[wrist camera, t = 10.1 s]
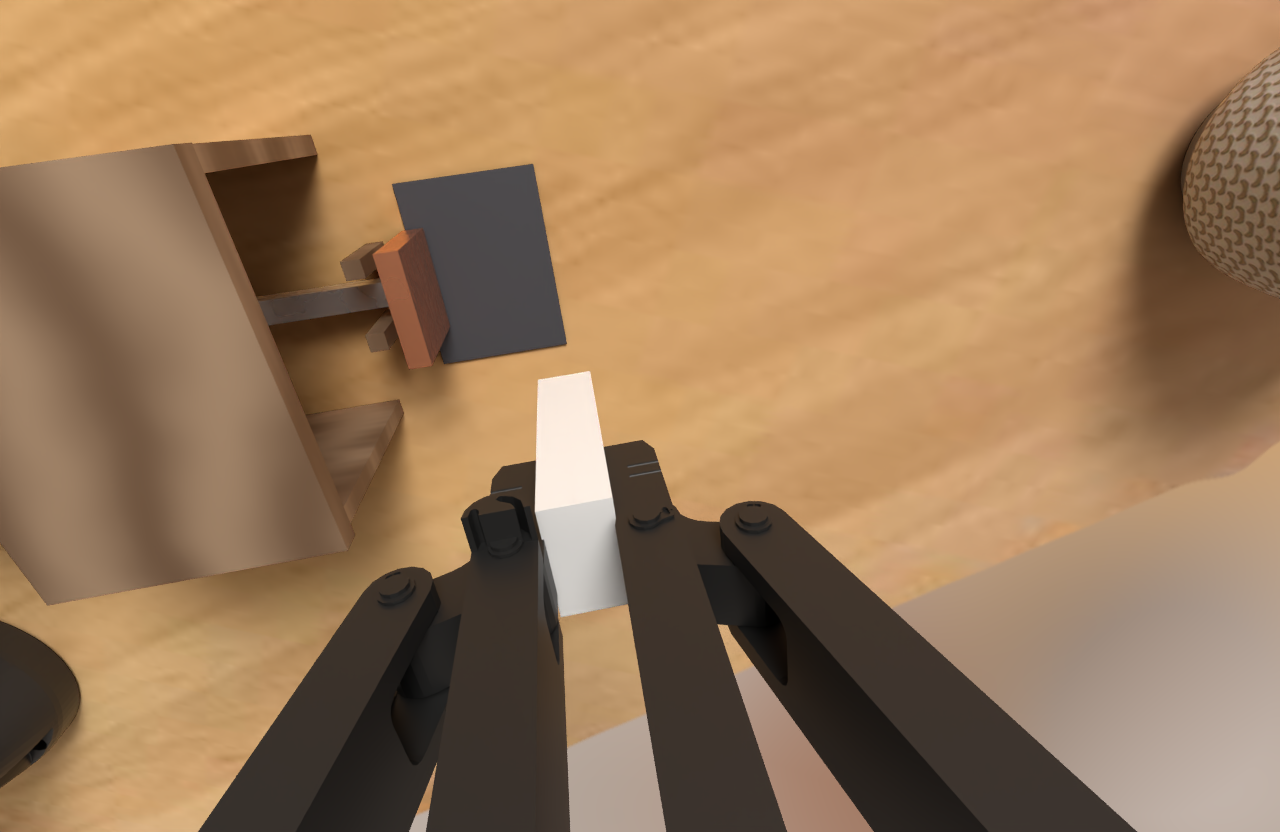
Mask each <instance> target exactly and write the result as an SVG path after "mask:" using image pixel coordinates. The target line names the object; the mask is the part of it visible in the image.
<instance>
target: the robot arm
mask: <svg viewBox="0 0 1280 832" xmlns="http://www.w3.org/2000/svg"><path fill="white" fill-rule="evenodd" d="M461 521H462V524H463V527H464V530H465V533H466V537H467V540H468V543H469V546H470V549H471V552H472V553H471V559H470V561H469V562H468V563H466V564H465V565H463V566H462V567H460V568H458V569H456V570H454V571H452V572H450V573H447V574H445V575H442V576H440V577H437V578H435V579H432V576H431V573H430V572H428V571H427V570H425V569H423V568H417V567H407V568H401V569H397V570H395V571H392V572H390V573H387V574H385V575H383V576H382V577H380V578H379V579H377V580H375V581H374V582H372V584H371V585H370V586H369V587H368V588H367V589H366V590H365V591H364V592H363V594H362V595H361V596H360V598H359V599H358V601H357V602H356V604H355V605H354V607H353V608H352V609H351V611H350V612H349V614H348V615H347V617H346V618H345V620H344V621H343V623H342V624H341V625H340V627H339V628H338V630H337V631H336V633H335V634H334V636H333V637H332V638H331V640H330V641H329V643H328V644H327V646H326V647H325V649H324V650H323V652H322V653H321V654H320V656H319V657H318V659H317V660H316V662H315V663H314V665H313V666H312V667H311V669H310V670H309V672H308V673H307V675H306V676H305V678H304V679H303V681H302V682H301V683H300V685H299V686H298V688H297V689H296V691H295V692H294V694H293V695H292V696H291V698H290V699H289V701H288V702H287V704H286V705H285V707H284V708H283V710H282V711H281V712H280V714H279V715H278V717H277V718H276V720H275V721H274V723H273V724H272V725H271V727H270V728H269V730H268V731H267V733H266V734H265V736H264V737H263V739H262V740H261V741H260V743H259V744H258V746H257V747H256V749H255V750H254V752H253V753H252V754H251V756H250V757H249V759H248V760H247V762H246V763H245V765H244V766H243V768H242V769H241V770H240V772H239V773H238V775H237V776H236V778H235V779H234V781H233V782H232V783H231V785H230V786H229V788H228V789H227V791H226V792H225V794H224V795H223V797H222V798H221V799H220V801H219V802H218V804H217V805H216V807H215V808H214V810H213V811H212V812H211V814H210V815H209V817H208V818H207V820H206V821H205V823H204V824H203V826H202V827H201V828H200V830H199V831H198V832H409V830H410V827H411V825H412V823H413V820H414V818H415V815H416V813H417V810H418V808H419V805H420V803H421V800H422V798H423V795H424V793H425V790H426V788H427V785H428V783H429V780H430V778H431V775H432V773H433V771H434V768H435V766H436V763H437V767H436V773H435V779H434V785H433V792H432V798H431V804H430V810H429V816H428V822H427V828H426V832H570V817H569V816H570V815H569V789H568V763H567V738H566V712H565V686H564V660H563V636H562V632H561V628H560V624H559V620H558V607H559V611H560V615H561V617H564V616H570V615H575V614H580V613H585V612H590V611H595V610H600V609H605V608H610V607H615V606H620V605H625V604H628V606H629V612H630V618H631V624H632V630H633V636H634V642H635V647H636V653H637V659H638V665H639V671H640V677H641V683H642V689H643V695H644V701H645V707H646V713H647V719H648V725H649V731H650V736H651V742H652V749H653V754H654V761H655V766H656V772H657V778H658V784H659V790H660V796H661V802H662V808H663V814H664V819H665V825H666V832H787V830H786V827H785V824H784V821H783V818H782V815H781V812H780V809H779V806H778V803H777V800H776V797H775V794H774V791H773V789H772V786H771V783H770V780H769V777H768V774H767V771H766V768H765V765H764V762H763V759H762V756H761V753H760V750H759V747H758V744H757V741H756V738H755V735H754V732H753V729H752V726H751V723H750V720H749V717H748V714H747V711H746V708H745V705H744V703H743V699H742V696H741V693H740V691H739V688H738V685H737V682H736V679H735V676H734V673H733V670H732V667H731V664H730V661H729V658H728V655H727V652H726V649H725V646H724V643H723V640H722V637H721V634H720V631H719V628H718V625H717V624H722V625H728V627H729V629H730V632H731V634H732V635H733V637H734V638H735V639H736V641H737V642H738V644H739V645H740V646H741V648H742V649H743V651H744V652H745V653H746V655H747V656H748V658H749V659H750V660H751V662H752V663H753V664H754V666H755V667H756V669H757V670H758V671H759V673H760V674H761V676H762V677H763V678H764V680H765V681H766V683H767V684H768V685H769V687H770V688H771V689H772V691H773V692H774V693H775V695H776V696H777V698H778V699H779V701H780V702H781V703H782V705H783V706H784V707H785V709H786V710H787V712H788V713H789V714H790V716H791V717H792V719H793V720H794V721H795V723H796V724H797V725H798V727H799V728H800V730H801V731H802V732H803V734H804V735H805V737H806V738H807V739H808V741H809V742H810V743H811V745H812V746H813V748H814V749H815V751H816V752H817V753H818V755H819V756H820V757H821V759H822V760H823V762H824V763H825V764H826V766H827V767H828V769H829V770H830V771H831V773H832V774H833V775H834V777H835V778H836V780H837V781H838V782H839V784H840V785H841V787H842V788H843V789H844V791H845V792H846V793H847V795H848V796H849V798H850V799H851V800H852V802H853V803H854V804H855V806H856V807H857V809H858V810H859V812H860V813H861V814H862V816H863V817H864V819H865V820H866V821H867V823H868V824H869V826H870V827H871V828H872V830H873V831H874V832H1137V831H1136V830H1135V829H1133V828H1132V827H1131V826H1130V825H1129V824H1128V823H1127V822H1126V821H1125V820H1124V819H1122V818H1121V817H1120V816H1119V815H1118V814H1117V813H1116V812H1114V811H1113V810H1112V809H1111V808H1110V807H1109V806H1108V805H1107V804H1106V803H1105V802H1104V801H1103V800H1101V799H1100V798H1099V797H1098V796H1097V795H1096V794H1095V793H1094V792H1093V791H1091V790H1090V789H1089V788H1088V787H1087V786H1086V785H1085V784H1084V783H1083V782H1082V781H1081V780H1079V779H1078V778H1077V777H1076V776H1075V775H1074V774H1073V773H1072V772H1071V771H1070V770H1068V769H1067V768H1066V767H1065V766H1064V765H1063V764H1062V763H1061V762H1060V761H1059V760H1057V759H1056V758H1055V757H1054V756H1053V755H1052V754H1051V753H1050V752H1048V751H1047V750H1046V749H1045V748H1044V747H1043V746H1042V745H1041V744H1040V743H1039V742H1038V741H1037V740H1035V739H1034V738H1033V737H1032V736H1031V735H1030V734H1029V733H1028V732H1027V731H1026V730H1024V729H1023V728H1022V727H1021V726H1020V725H1019V724H1018V723H1017V722H1016V721H1015V720H1013V719H1012V718H1011V717H1010V716H1009V715H1008V714H1007V713H1006V712H1005V711H1003V710H1002V709H1001V708H1000V707H999V706H998V705H997V704H996V703H995V702H994V701H992V700H991V699H990V698H989V697H988V696H987V695H986V694H985V693H984V692H983V691H981V690H980V689H979V688H978V687H977V686H976V685H975V684H974V683H973V682H972V681H970V680H969V679H968V678H967V677H966V676H965V675H964V674H963V673H962V672H960V671H959V670H958V669H957V668H956V667H955V666H954V665H953V664H952V663H951V662H949V661H948V660H947V659H946V658H945V657H944V656H943V655H942V654H941V653H940V652H939V651H937V650H936V649H935V648H934V647H933V646H932V645H931V644H930V643H929V642H927V641H926V640H925V639H924V638H923V637H922V636H921V635H920V634H919V633H917V631H915V630H914V629H913V628H912V627H911V626H910V625H909V624H907V622H905V621H904V620H903V619H902V618H901V617H900V616H899V615H898V614H897V613H896V612H895V611H893V610H892V609H891V608H890V607H889V606H888V605H887V604H886V603H885V602H884V601H882V600H881V599H880V598H879V597H878V596H877V595H876V594H875V593H874V592H873V591H871V590H870V589H869V588H868V587H867V586H866V585H865V584H864V583H863V582H861V581H860V580H859V579H858V578H857V577H856V576H855V575H854V574H853V573H852V572H850V571H849V570H848V569H847V568H846V567H845V566H844V565H843V564H842V563H841V562H839V561H838V560H837V559H836V558H835V557H834V556H833V555H832V554H831V553H830V552H828V551H827V550H826V549H825V548H824V547H823V546H822V545H821V544H820V543H819V542H817V541H816V540H815V539H814V538H813V537H812V536H811V535H810V534H809V533H808V532H806V531H805V530H804V529H803V528H802V527H801V526H800V525H799V524H798V523H797V522H795V521H794V520H793V519H792V518H791V517H790V516H789V515H788V514H787V513H786V512H784V511H783V510H782V509H780V508H778V507H777V506H775V505H773V504H769V503H766V502H761V501H748V502H743V503H738V504H735V505H733V506H732V507H730V508H728V509H726V510H725V512H724V513H723V514H722V515H721V517H720V522H706V521H697V520H693V519H689V518H687V517H685V516H683V515H681V514H680V513H679V511H678V510H677V508H676V507H675V506H673V505H672V502H671V499H670V496H669V493H668V490H667V487H666V484H665V481H664V478H663V475H662V472H661V469H660V466H659V462H658V459H657V456H656V453H655V450H654V448H652V447H651V446H650V445H648V444H647V443H646V442H644V441H643V440H640V441H635V442H629V443H623V444H618V445H612V446H607V447H603V442H602V436H601V431H600V425H599V419H598V414H597V408H596V403H595V397H594V391H593V386H592V380H591V375H590V371H588V372H582V373H576V374H570V375H564V376H558V377H552V378H546V379H541V380H538V404H537V445H536V461H531V462H525V463H520V464H514V465H508V466H503V467H502V468H501V469H500V470H499V471H498V473H497V474H496V475H495V476H494V478H493V479H492V485H491V494H490V496H486V497H484V498H482V499H480V500H478V501H476V502H474V503H473V504H472V505H471V506H469V507H468V508H467V509H466V510H465V511H464V513H463V515H462V517H461ZM78 707H79V691H78V686H77V683H76V681H75V679H74V677H73V675H72V673H71V671H70V670H69V668H68V667H67V666H66V664H65V663H64V662H63V661H62V660H61V659H60V658H59V657H58V656H57V655H56V654H55V653H54V652H53V651H52V650H51V649H49V648H48V647H47V646H46V645H44V644H43V643H41V642H40V641H38V640H37V639H35V638H34V637H32V636H30V635H29V634H27V633H25V632H23V631H21V630H19V629H17V628H15V627H13V626H10V625H8V624H6V623H3V622H0V788H1V787H3V786H4V785H5V784H7V783H8V782H9V781H11V780H12V779H13V778H15V777H16V776H17V775H19V774H20V773H21V772H23V771H24V770H25V769H27V768H28V767H29V766H30V765H32V764H33V763H35V762H36V761H37V760H38V759H40V758H41V757H42V756H43V755H44V754H46V753H47V752H48V751H49V750H50V749H51V747H52V746H53V745H54V744H55V743H56V741H57V740H58V739H59V738H60V736H61V735H62V734H63V733H64V731H65V730H66V729H67V727H68V726H69V725H70V724H71V722H72V721H73V719H74V718H75V716H76V713H77V711H78Z"/></svg>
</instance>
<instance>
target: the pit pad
mask: <svg viewBox="0 0 1280 832" xmlns="http://www.w3.org/2000/svg"><path fill="white" fill-rule="evenodd" d="M392 186H393V189H394V193H395V196H396V199H397V203H398V206H399V210H400V213H401V217H402V220H403V224H404V227H405V230H412V229H418V228H423V230H424V233H425V237H426V240H427V244H428V248H429V251H430V255H431V259H432V262H433V266H434V270H435V273H436V277H437V280H438V284H439V288H440V291H441V295H442V299H443V302H444V306H445V309H446V313H447V317H448V320H449V324H450V328H449V330H448V332H447V334H446V337H445V339H444V341H443V343H442V345H441V347H440V352H441V355H442V359H443V362H444V364H447V363H453V362H459V361H465V360H471V359H477V358H483V357H489V356H495V355H502V354H508V353H514V352H520V351H526V350H532V349H538V348H544V347H550V346H557V345H563V344H567V342H566V337H565V331H564V326H563V321H562V315H561V310H560V305H559V299H558V294H557V289H556V283H555V278H554V273H553V267H552V262H551V257H550V251H549V246H548V241H547V235H546V230H545V225H544V219H543V214H542V209H541V203H540V198H539V193H538V187H537V182H536V177H535V172H534V166H533V164H529V165H522V166H515V167H508V168H501V169H494V170H487V171H480V172H473V173H466V174H459V175H452V176H445V177H438V178H431V179H424V180H417V181H410V182H403V183H396V184H392Z"/></svg>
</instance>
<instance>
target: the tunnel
mask: <svg viewBox="0 0 1280 832" xmlns="http://www.w3.org/2000/svg"><path fill="white" fill-rule="evenodd" d="M313 155H317V152H316V149H315V146H314V143H313V140H312V137H311V135H302V136H289V137H276V138H262V139H249V140H236V141H222V142H209V143H196V144H192V143H183V144H171V145H164V146H156V147H149V148H142V149H134V150H127V151H119V152H112V153H105V154H97V155H90V156H82V157H75V158H68V159H60V160H53V161H45V162H38V163H31V164H23V165H16V166H8V167H1V168H0V543H1V545H2V546H3V547H4V549H5V550H6V551H7V553H8V554H9V555H10V557H11V558H12V559H13V561H14V562H15V563H16V565H17V566H18V567H19V569H20V570H21V571H22V573H23V574H24V575H25V577H26V578H27V579H28V581H29V582H30V583H31V585H32V586H33V587H34V589H35V590H36V591H37V592H38V594H39V595H40V596H41V598H42V599H43V600H44V602H45V603H46V604H47V605H53V604H58V603H64V602H69V601H75V600H80V599H86V598H91V597H97V596H102V595H108V594H113V593H119V592H124V591H130V590H135V589H141V588H146V587H151V586H157V585H162V584H168V583H173V582H179V581H184V580H190V579H195V578H201V577H206V576H212V575H217V574H223V573H228V572H234V571H239V570H245V569H250V568H256V567H261V566H266V565H272V564H277V563H283V562H288V561H294V560H299V559H305V558H310V557H316V556H321V555H327V554H332V553H338V552H343V551H348V549H349V547H350V545H351V543H352V541H353V538H354V536H355V533H354V530H353V528H352V526H351V522H352V520H353V518H354V516H355V514H356V511H357V509H358V507H359V505H360V503H361V501H362V499H363V497H364V495H365V493H366V491H367V489H368V486H369V484H370V482H371V480H372V478H373V476H374V474H375V472H376V470H377V468H378V466H379V464H380V461H381V459H382V457H383V455H384V453H385V451H386V449H387V447H388V445H389V443H390V441H391V439H392V436H393V434H394V432H395V430H396V428H397V426H398V424H399V422H400V420H401V418H402V416H403V414H404V412H403V409H402V406H401V403H400V400H393V401H387V402H381V403H375V404H369V405H363V406H357V407H351V408H345V409H339V410H333V411H327V412H321V413H315V414H309V415H305V413H304V410H303V408H302V406H301V403H300V401H299V398H298V396H297V394H296V391H295V389H294V386H293V384H292V382H291V379H290V377H289V375H288V372H287V370H286V367H285V365H284V363H283V360H282V358H281V355H280V353H279V351H278V348H277V346H276V343H275V341H274V339H273V336H272V334H271V331H270V329H269V327H268V324H267V322H266V319H265V317H264V315H263V312H262V310H261V307H260V305H259V303H258V300H257V298H256V295H255V293H254V291H253V288H252V286H251V283H250V281H249V279H248V276H247V274H246V271H245V269H244V267H243V264H242V262H241V259H240V257H239V255H238V252H237V250H236V247H235V245H234V243H233V240H232V238H231V235H230V233H229V231H228V228H227V226H226V223H225V221H224V219H223V216H222V214H221V212H220V209H219V207H218V204H217V202H216V200H215V197H214V195H213V192H212V190H211V188H210V185H209V183H208V180H207V178H206V176H205V173H209V172H215V171H222V170H228V169H234V168H240V167H246V166H252V165H258V164H264V163H270V162H276V161H282V160H288V159H295V158H301V157H307V156H313ZM382 246H384V244H383V241H382V242H376V243H369V244H365V245H363V246H362V247H361V248H359V249H358V250H356V251H355V252H353V253H352V254H351V255H349V256H348V257H346V258H345V259H343V260H342V261H341V262H340V264H341V267H342V269H343V272H344V275H345V278H346V281H351V280H357V279H364V278H367V277H368V276H369V275H370V274H371V273H372V272H373V271H374V270H376V269H377V268H376V264H375V261H374V258H373V255H372V254H374V253H375V252H376V251H377V250H379V249H380V248H381V247H382ZM365 336H366V339H367V342H368V345H369V348H370V351H371V352H377V351H383V350H389V349H390V348H391V346H392V345H393V343H394V342H395V340H396V339H397V338H398V333H397V330H396V327H395V324H394V321H393V318H392V315H391V311H390V309H387V310H386V311H385V312H384V313H383V314H382V316H381V317H380V318H379V319H378V320H377V322H376V323H375V324H374V325H373V327H372V328H371V329H370V330H369V331H368V333H367V334H366V335H365Z"/></svg>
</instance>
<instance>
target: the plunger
mask: <svg viewBox="0 0 1280 832" xmlns="http://www.w3.org/2000/svg"><path fill="white" fill-rule="evenodd" d="M372 255H373V258H374V261H375V264H376V268H377V271H378V274H379V277H380V278H376V279H369V280H363V281H356V282H350V283H343V284H337V285H330V286H324V287H317V288H311V289H304V290H297V291H291V292H284V293H278V294H271V295H265V296H258V297H256V298H257V300H258V303H259V305H260V307H261V310H262V312H263V315H264V317H265V319H266V322H267V324H268V325H274V324H281V323H287V322H294V321H300V320H306V319H313V318H319V317H326V316H332V315H338V314H345V313H351V312H358V311H364V310H370V309H377V308H383V307H389V308H390V311H391V315H392V318H393V321H394V324H395V327H396V330H397V333H398V337H399V340H400V343H401V346H402V349H403V352H404V355H405V359H406V362H407V365H408V368H409V370H410V369H416V368H422V367H428V366H432V365H433V363H434V361H435V358H436V356H437V354H438V352H439V350H440V347H441V345H442V343H443V341H444V339H445V337H446V334H447V332H448V330H449V328H450V324H449V320H448V317H447V313H446V309H445V306H444V302H443V299H442V295H441V291H440V288H439V284H438V280H437V277H436V273H435V270H434V266H433V262H432V259H431V255H430V251H429V248H428V244H427V240H426V237H425V233H424V230H423V228H418V229H412V230H405V231H401V232H400V233H399V234H398V235H396V236H395V237H394V238H392V239H391V240H390V241H389V242H387V243H386V244H385V245H384V246H382V247H381V248H380V249H379V250H377V251H376V252H375V253H374V254H372Z"/></svg>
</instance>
